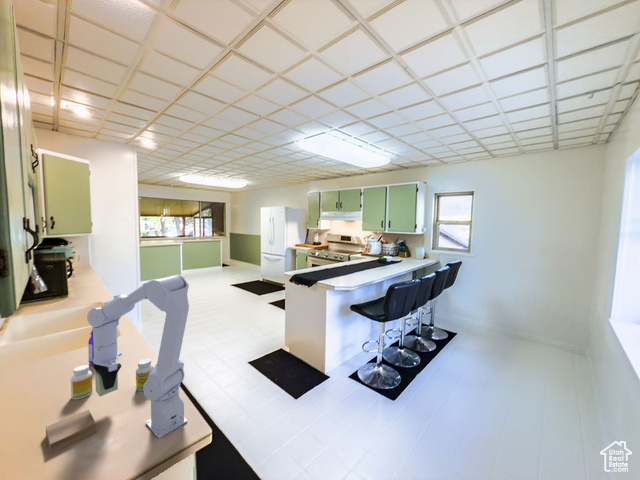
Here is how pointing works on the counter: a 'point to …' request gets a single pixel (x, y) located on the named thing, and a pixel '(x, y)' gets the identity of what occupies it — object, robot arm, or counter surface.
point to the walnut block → (70, 430)
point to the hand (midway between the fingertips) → (106, 385)
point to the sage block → (100, 387)
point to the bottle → (91, 348)
